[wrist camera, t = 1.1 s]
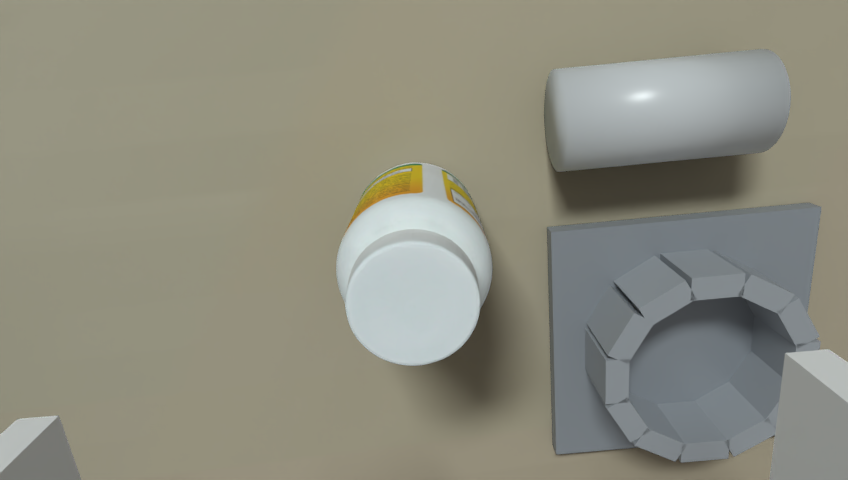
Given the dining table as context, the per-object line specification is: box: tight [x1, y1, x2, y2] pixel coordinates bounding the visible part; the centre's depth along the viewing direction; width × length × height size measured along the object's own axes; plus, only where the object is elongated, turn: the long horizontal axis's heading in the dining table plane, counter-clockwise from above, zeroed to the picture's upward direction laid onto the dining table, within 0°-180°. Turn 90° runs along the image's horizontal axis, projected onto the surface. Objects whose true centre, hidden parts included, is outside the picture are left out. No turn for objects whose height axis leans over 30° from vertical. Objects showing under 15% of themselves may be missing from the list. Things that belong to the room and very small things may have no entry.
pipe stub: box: [544, 49, 791, 172], centre depth 22 cm, size 8×4×4 cm, turn 95°
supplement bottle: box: [336, 162, 492, 366], centre depth 21 cm, size 5×5×10 cm
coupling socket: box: [547, 203, 821, 462], centre depth 25 cm, size 12×12×4 cm
